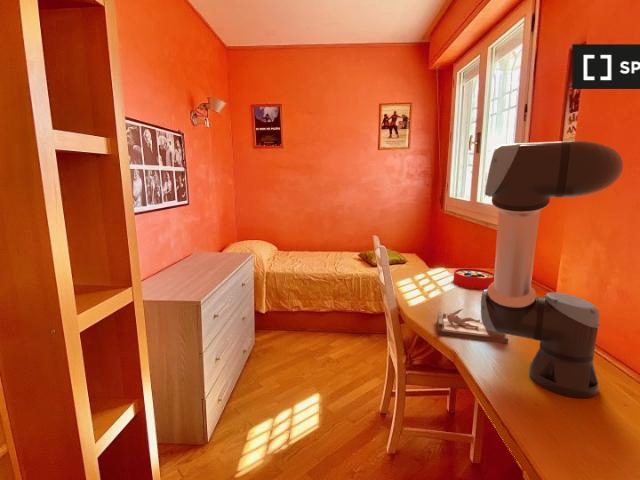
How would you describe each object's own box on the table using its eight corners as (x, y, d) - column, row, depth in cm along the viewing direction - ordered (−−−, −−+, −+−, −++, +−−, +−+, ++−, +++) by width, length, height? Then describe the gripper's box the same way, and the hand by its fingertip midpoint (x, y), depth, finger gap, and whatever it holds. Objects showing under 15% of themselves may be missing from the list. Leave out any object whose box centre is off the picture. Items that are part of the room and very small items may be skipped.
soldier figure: (477, 335, 117) (442, 320, 120) (471, 339, 121) (438, 325, 124) (481, 315, 121) (448, 302, 124) (476, 319, 125) (444, 306, 128)
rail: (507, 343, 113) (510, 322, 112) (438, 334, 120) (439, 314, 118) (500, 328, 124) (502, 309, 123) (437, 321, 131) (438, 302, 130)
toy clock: (504, 275, 175) (477, 280, 166) (503, 286, 176) (476, 291, 167) (471, 266, 192) (445, 270, 183) (470, 276, 193) (445, 281, 184)
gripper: (504, 195, 131) (499, 249, 134) (521, 198, 107) (514, 263, 111) (526, 195, 128) (520, 250, 132) (548, 198, 105) (541, 265, 109)
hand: (518, 256), depth 121 cm, fingers open, 13 cm apart
